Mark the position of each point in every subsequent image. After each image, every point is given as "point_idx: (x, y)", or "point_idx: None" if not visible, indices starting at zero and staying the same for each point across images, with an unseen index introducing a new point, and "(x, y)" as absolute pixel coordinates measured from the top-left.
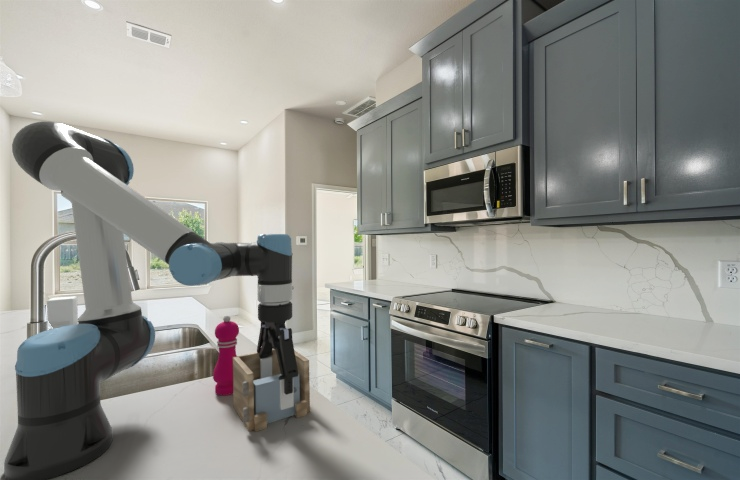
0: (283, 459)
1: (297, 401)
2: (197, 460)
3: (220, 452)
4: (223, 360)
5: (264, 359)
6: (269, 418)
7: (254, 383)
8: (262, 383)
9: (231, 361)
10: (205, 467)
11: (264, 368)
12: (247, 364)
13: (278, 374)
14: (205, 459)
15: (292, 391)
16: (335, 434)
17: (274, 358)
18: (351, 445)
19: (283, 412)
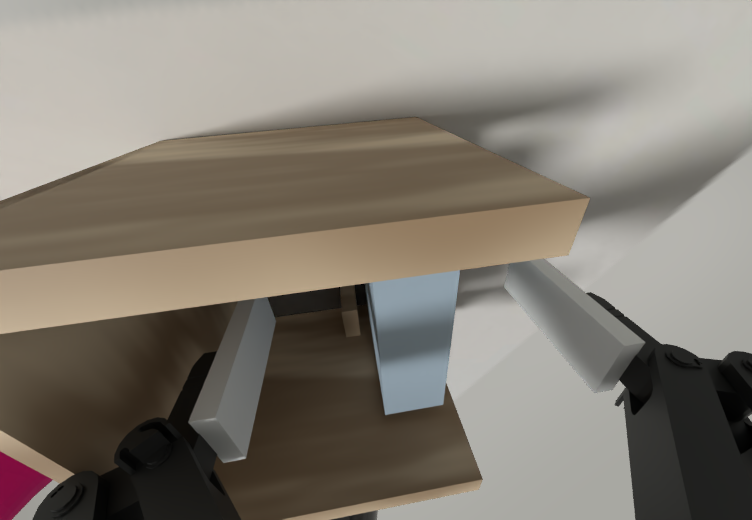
0: (575, 259)
1: None
2: (452, 374)
3: (455, 350)
4: (31, 497)
5: (239, 444)
6: None
7: (420, 408)
8: (441, 388)
9: (25, 469)
10: (481, 364)
11: (254, 384)
12: None
13: (377, 331)
14: (458, 366)
15: (600, 298)
16: (619, 91)
17: (80, 350)
18: (709, 68)
19: None
